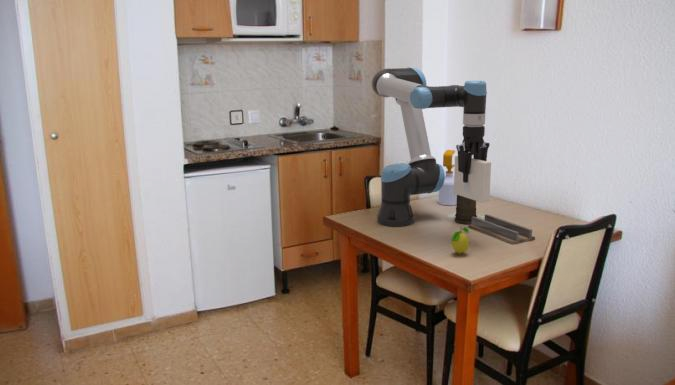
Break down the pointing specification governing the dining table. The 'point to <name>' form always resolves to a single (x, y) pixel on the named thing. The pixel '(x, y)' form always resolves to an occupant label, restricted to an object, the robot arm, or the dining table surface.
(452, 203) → the soap bottle
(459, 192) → the door panel
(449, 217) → the dining table surface
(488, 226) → the track plinth
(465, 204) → the container
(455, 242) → the lemon
